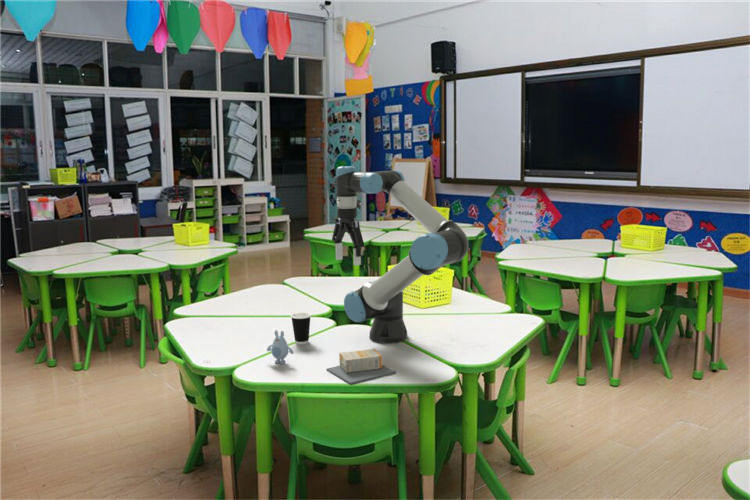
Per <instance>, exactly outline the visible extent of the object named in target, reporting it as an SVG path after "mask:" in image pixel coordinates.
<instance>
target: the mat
mask: <svg viewBox="0 0 750 500" xmlns="http://www.w3.org/2000/svg"><path fill="white" fill-rule="evenodd" d="M326 371H327V372H329V373H330V374H333V376H335V377H337V378H338V379H340V380H342V381H343V382H345V383H347V384H349V385H353V384H357V383H358V384H359V383H362V382H366V381H370V380H375V379H379V378H383V377H386V376H390V375H393V374H397V372H396V370H394V369H392V368H391V367H388V366H386V365H384V364H382V368H380V369H372V370H364V371H356V372H348V373H346V372H345V371H344V370H343V369H342V367H341V366H340V365H335V366H332V367H327V368H326Z"/></svg>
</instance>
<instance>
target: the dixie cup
mask: <svg viewBox="0 0 750 500" xmlns="http://www.w3.org/2000/svg"><path fill="white" fill-rule="evenodd" d="M311 316H312V314H310V313H309V312H296V313H292V314H291V315H290V318H291V321H292V322H291V323H292V329H293V335H294V342H295V344H297V345H306V344H308V343H309V340H310V339H309V338H310V328H311V327H310V326H311Z"/></svg>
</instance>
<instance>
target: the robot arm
mask: <svg viewBox="0 0 750 500" xmlns="http://www.w3.org/2000/svg"><path fill="white" fill-rule="evenodd" d="M335 182H336V185H335V186H336V206H337V209H336V216H337V218H335V225H334V227H333V233H332V237H331V240H332V242H334V244H335V247H334V248H335V261H340V260H344V259H343V257H344V255H343V254H344V252H343V249H344V248H343V241H342V240H343V239H344V237H345V234H346V233H347V234H348V235H349V237H350V240H351V242H352V244H353V252H352V253H353V266H360V265H362V257H361V256H362V252H361V251H362V248H363V247H365V243H364V239H363V235H362V231H361V227H360V221H358V220H357V221H355V219H357V217H358V209H357V205H358V201H357V200H358V199H357V193H359V194H360V193H362V194H367V195H369V194H370V195H371V194H378V193H380V192H385V193H387V194H388V195H389V197H391V198H392V199H393V200H394V201H396V203H397V204H399V206H401V208H403V209H404V210H405V211H406V212H407V213H408V214H409V215H411V216H412V217H413V218H414V219H415V220H416V222H418V223H419V224H420V225H421V226H422V227H424V228H425V229H426V230H427V232H428V233H427V232H426V233H425V234H422V235H420V236H418V237H417V238H415V239H414V240H413V241H412V244H411V247H410V248H409V250H408V255H407V256H406V257H404V258H403V259H402V260H401V261H399V262H398V263H397V264H395V265H394V266H392V268H390V269H389V270H387V272H385V273H384V274H383V275H382V276H380V277H378V279H376V280H374V281H368V282H366V283H365V284H363V286H361V287H360V288H359V289H357V290H355V291H354V290H353V291H350V292H347V294H346V295H345V296H344V299H343V307H344V311H345V314H346V315H347V317H348V318H349V319H350V320H351V321H353V322H354V323H363V322H364V321H368V320H370V319H372V323H371V326H370V330H369V340H371V341H373V342H375V343H380V344H396V343H401V342H404V341H405V340H407V339H408V330H407V327H406V324H405V321H404V315H403V314H404V291H403V290H405V289H406V288H407V287H409V286H411V285H412V284H413V283H414V282H415V281H417V280H418V279H419V278H421V277H423V276H430V275H432V274H435V272H437V271H438V270H439V269H441V268H442V267H444V266H446V265H452V264H455V263H458V262H460V261H462V260H463V259H464V258H465V257H466V255H467V253H468V250H469V240H468V236H467V234H466V233H465V231H463V229H462V227H460V226H459V225H458V224H457V223H456V222H455V221H454V220H452V219H447V218H446V217H444V215H442V214H441V213H440V212H439V211H438V210H437V209H436V208H435V207H433V206H432V205H431V204H430V203H429V202H428V201H426V200H425V198H423V197H422V196H421V195H420V194H419V193H418V192H417V191H415V190H414V189H413V188H412V187H411V186H409V184H408V183H406V182H405V177H404V175H403V173H402V172H401V171H399V170H393V169H391V170H383V171H368V172H367V171H366V172H362V171H360V172H359V171H357V168H356V167H355V166H350V165H349V166H348V165H347V166H338V167H337V168H336V172H335Z"/></svg>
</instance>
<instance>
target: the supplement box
mask: <svg viewBox="0 0 750 500" xmlns="http://www.w3.org/2000/svg"><path fill="white" fill-rule="evenodd" d="M338 354H339V355H338V356H339V357H338V358H339V361H338V362H339V366H341V367H342V369H343V370H344V371H345V372H346V373H348V372H356V371H364V370H372V369H380V368H382V365H383V359H382V358H383V357H382V355H381V354H380V353H379V352H378V351H377V350H376V349H375V348H371V349H362V350H352V351H344V352H339V353H338Z"/></svg>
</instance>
